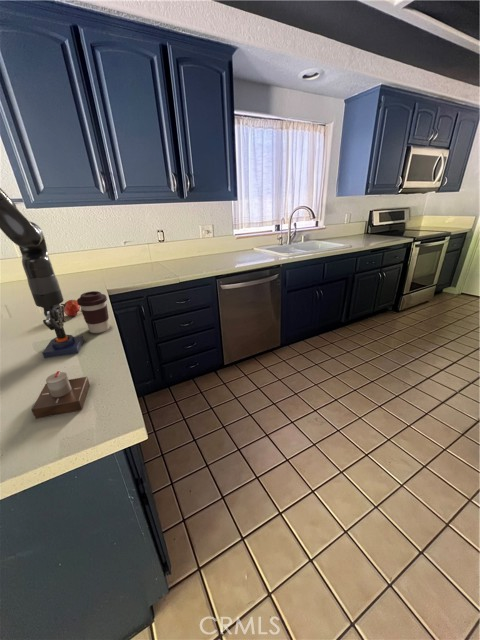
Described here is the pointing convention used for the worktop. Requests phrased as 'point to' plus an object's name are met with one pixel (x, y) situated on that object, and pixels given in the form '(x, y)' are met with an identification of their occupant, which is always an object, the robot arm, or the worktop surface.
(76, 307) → the pomegranate
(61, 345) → the button box
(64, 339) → the button
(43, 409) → the panel
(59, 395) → the dial
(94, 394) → the worktop surface
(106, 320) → the coffee cup
